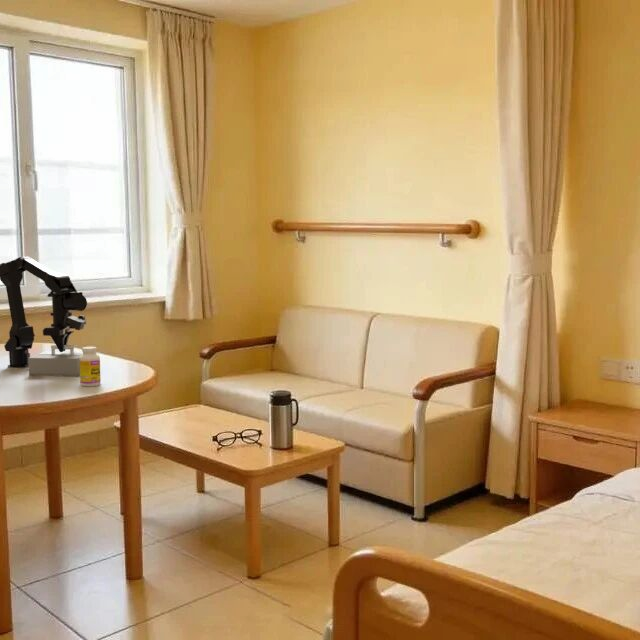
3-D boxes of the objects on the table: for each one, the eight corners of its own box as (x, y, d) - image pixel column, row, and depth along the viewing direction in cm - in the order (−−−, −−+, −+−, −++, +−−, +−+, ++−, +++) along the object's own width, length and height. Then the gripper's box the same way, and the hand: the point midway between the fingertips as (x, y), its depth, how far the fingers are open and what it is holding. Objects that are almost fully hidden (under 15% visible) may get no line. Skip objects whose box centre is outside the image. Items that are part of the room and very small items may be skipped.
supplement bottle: (91, 387, 260) (90, 349, 258) (76, 385, 262) (74, 348, 261) (104, 383, 266) (103, 346, 264) (89, 382, 268) (88, 345, 267)
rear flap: (37, 355, 286) (37, 345, 285) (46, 351, 292) (45, 342, 292) (84, 356, 284) (83, 346, 284) (91, 352, 291) (91, 343, 290)
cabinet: (29, 375, 279) (28, 357, 279) (46, 367, 293) (45, 351, 292) (77, 376, 278) (76, 358, 277) (92, 368, 291) (91, 352, 291)
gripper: (71, 312, 274) (73, 356, 276) (91, 306, 293) (93, 347, 295) (41, 312, 275) (43, 355, 277) (63, 306, 294) (65, 347, 296)
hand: (62, 351), depth 286 cm, fingers closed on rear flap, 2 cm apart
